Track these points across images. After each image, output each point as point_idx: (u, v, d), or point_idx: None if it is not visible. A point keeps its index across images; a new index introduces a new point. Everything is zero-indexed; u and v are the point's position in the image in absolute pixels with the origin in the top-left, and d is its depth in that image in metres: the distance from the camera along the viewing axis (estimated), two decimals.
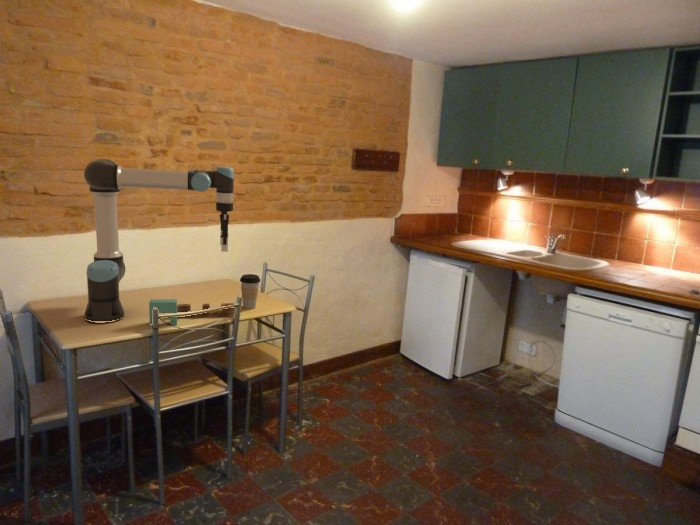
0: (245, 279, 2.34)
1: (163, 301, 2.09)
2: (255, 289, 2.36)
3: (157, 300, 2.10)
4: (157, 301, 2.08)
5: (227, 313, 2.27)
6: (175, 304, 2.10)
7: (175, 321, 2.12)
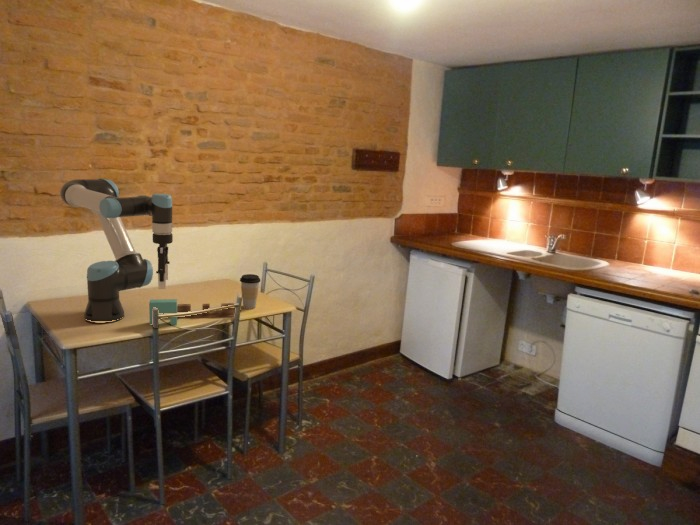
0: (245, 279, 2.34)
1: (163, 301, 2.09)
2: (255, 289, 2.36)
3: (157, 300, 2.10)
4: (157, 302, 2.08)
5: (227, 313, 2.27)
6: (175, 304, 2.10)
7: (175, 321, 2.12)
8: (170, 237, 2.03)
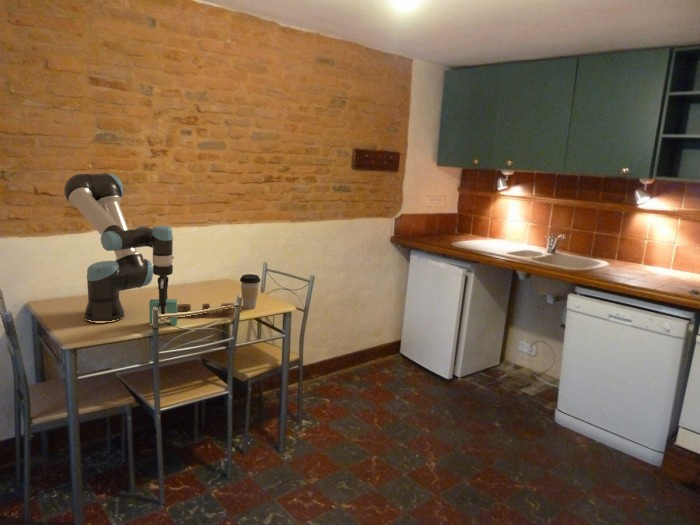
0: (245, 279, 2.34)
1: None
2: (255, 289, 2.36)
3: (157, 300, 2.10)
4: (157, 302, 2.08)
5: (227, 313, 2.27)
6: (175, 304, 2.10)
7: (175, 321, 2.11)
8: (170, 269, 2.06)
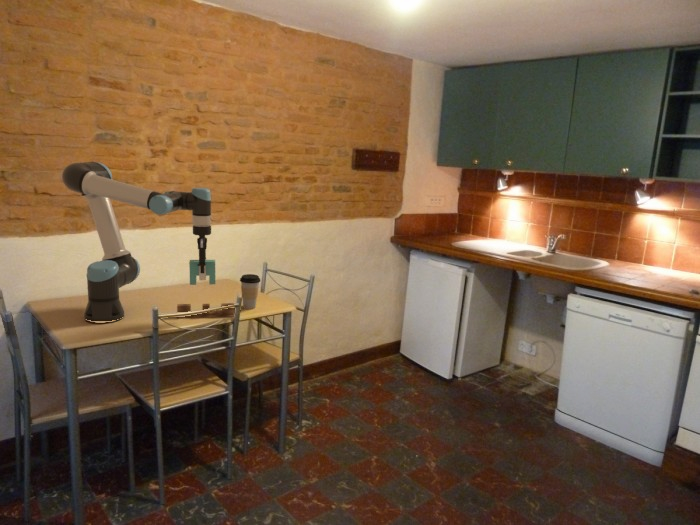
0: (245, 279, 2.34)
1: None
2: (255, 289, 2.36)
3: (196, 260, 2.18)
4: (196, 261, 2.16)
5: (227, 313, 2.27)
6: (214, 264, 2.17)
7: (214, 280, 2.19)
8: (209, 229, 2.13)
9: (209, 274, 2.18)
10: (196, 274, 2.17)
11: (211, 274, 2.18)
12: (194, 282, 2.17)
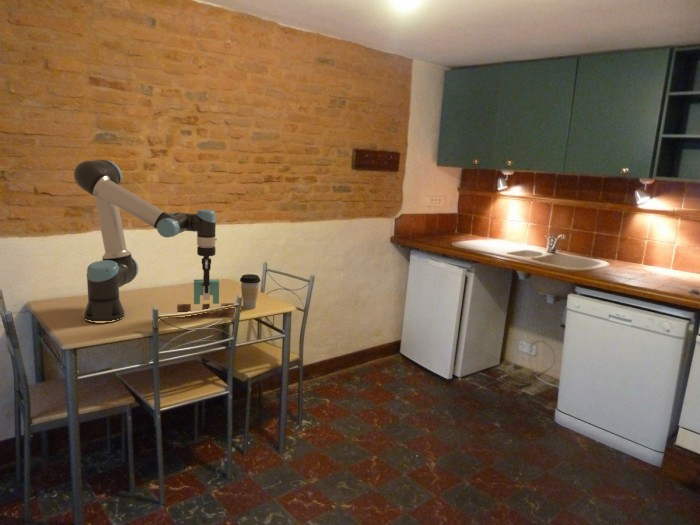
0: (245, 279, 2.34)
1: None
2: (255, 289, 2.36)
3: (200, 280, 2.22)
4: (201, 281, 2.20)
5: (227, 313, 2.27)
6: (218, 284, 2.21)
7: (217, 300, 2.23)
8: (213, 250, 2.17)
9: (213, 294, 2.22)
10: (200, 294, 2.21)
11: (215, 294, 2.22)
12: (198, 301, 2.21)
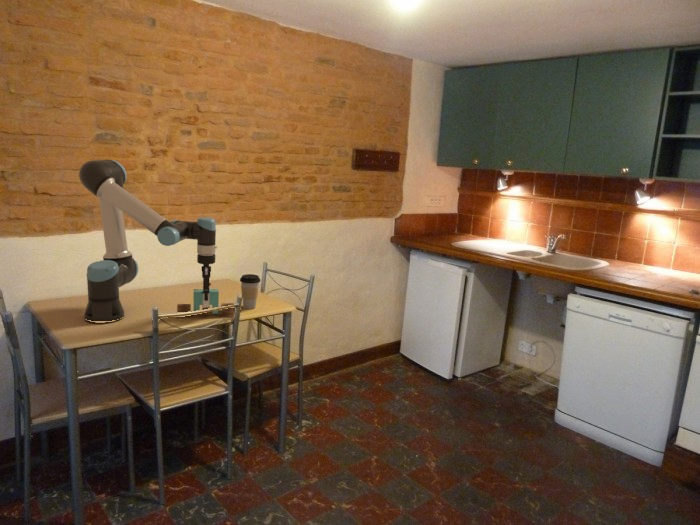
0: (245, 279, 2.34)
1: None
2: (255, 289, 2.36)
3: (200, 290, 2.23)
4: (200, 291, 2.21)
5: (227, 313, 2.27)
6: (217, 293, 2.23)
7: (217, 310, 2.24)
8: (213, 258, 2.18)
9: (212, 303, 2.23)
10: (200, 303, 2.22)
11: (214, 303, 2.23)
12: None
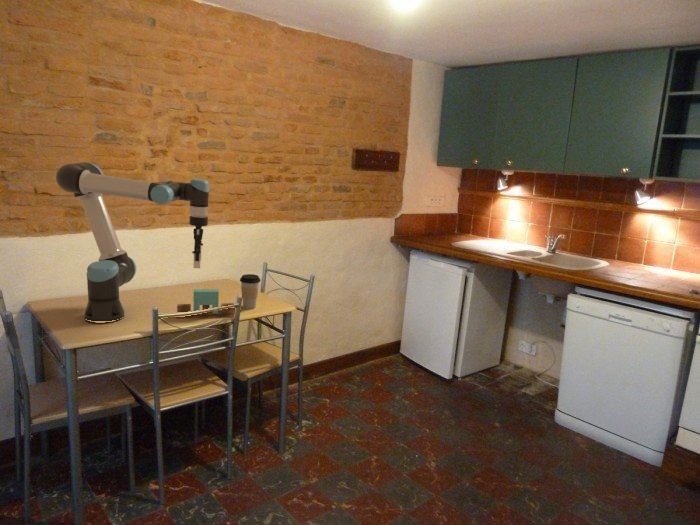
0: (245, 279, 2.34)
1: (206, 291, 2.22)
2: (255, 289, 2.36)
3: (200, 290, 2.23)
4: (200, 291, 2.21)
5: (227, 313, 2.27)
6: (217, 293, 2.23)
7: (217, 310, 2.24)
8: (206, 220, 2.16)
9: (212, 303, 2.23)
10: (200, 303, 2.22)
11: (214, 303, 2.23)
12: None
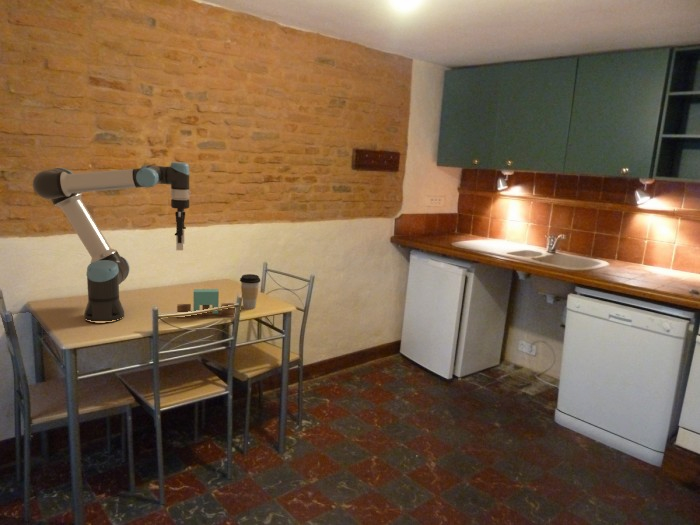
0: (245, 279, 2.34)
1: (206, 291, 2.22)
2: (255, 289, 2.36)
3: (200, 290, 2.23)
4: (200, 291, 2.21)
5: (227, 313, 2.27)
6: (217, 293, 2.23)
7: (217, 310, 2.24)
8: (187, 202, 2.19)
9: (212, 303, 2.23)
10: (200, 303, 2.22)
11: (214, 303, 2.23)
12: None
